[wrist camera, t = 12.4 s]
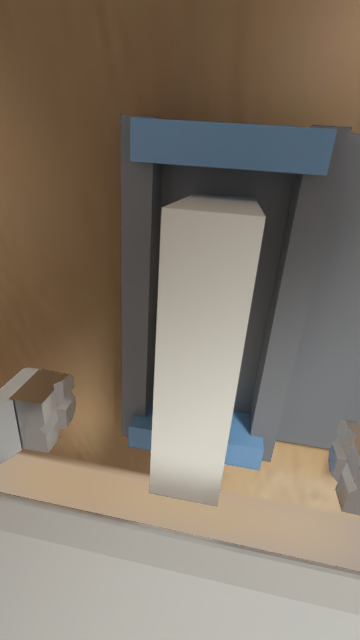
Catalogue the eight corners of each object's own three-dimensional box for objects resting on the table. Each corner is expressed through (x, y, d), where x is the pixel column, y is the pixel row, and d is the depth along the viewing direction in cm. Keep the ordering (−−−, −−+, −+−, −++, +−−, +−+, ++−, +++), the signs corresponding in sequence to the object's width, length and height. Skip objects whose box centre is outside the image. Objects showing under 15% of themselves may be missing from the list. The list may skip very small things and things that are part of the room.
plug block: (195, 193, 17) (161, 207, 10) (255, 198, 17) (266, 217, 9) (179, 387, 22) (149, 493, 15) (225, 394, 22) (217, 506, 14)
